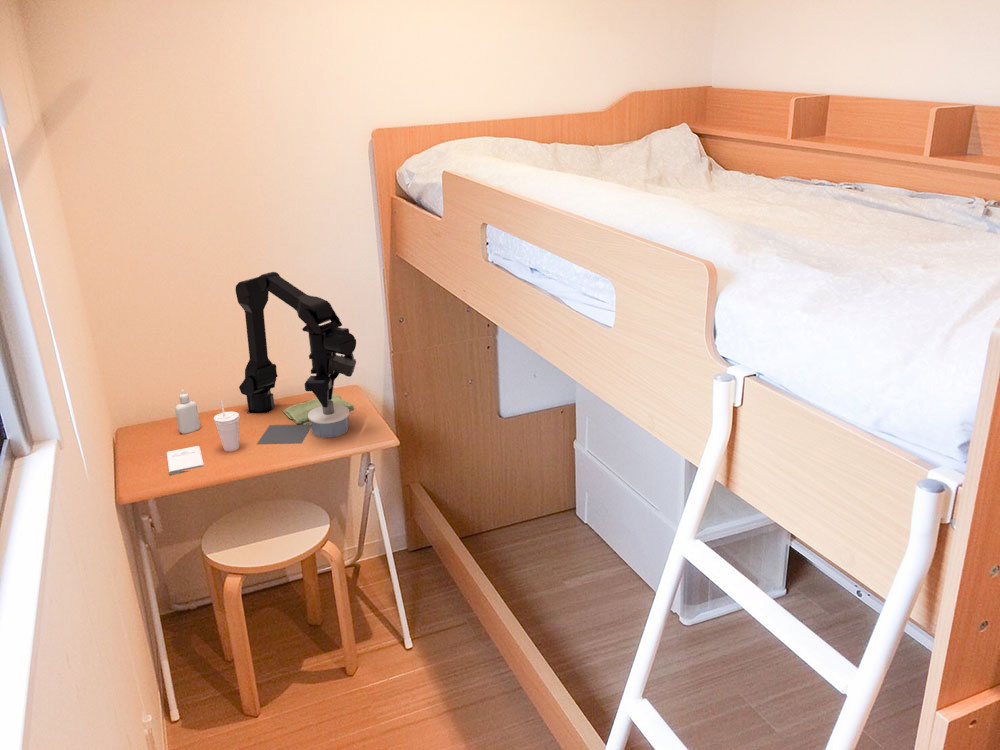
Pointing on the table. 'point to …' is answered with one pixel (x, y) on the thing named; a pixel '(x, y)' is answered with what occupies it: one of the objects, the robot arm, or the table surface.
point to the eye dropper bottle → (187, 414)
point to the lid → (328, 413)
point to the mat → (285, 434)
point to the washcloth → (301, 410)
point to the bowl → (330, 428)
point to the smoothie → (228, 429)
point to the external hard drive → (184, 459)
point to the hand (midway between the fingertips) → (327, 403)
